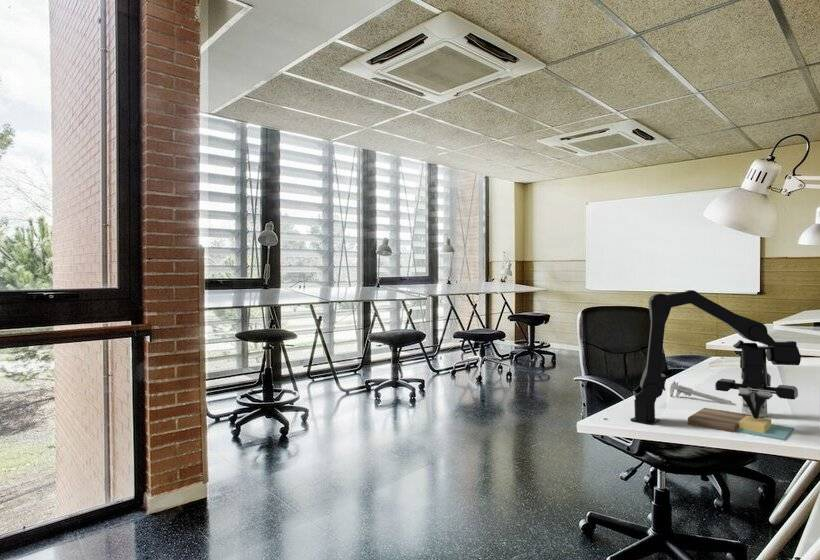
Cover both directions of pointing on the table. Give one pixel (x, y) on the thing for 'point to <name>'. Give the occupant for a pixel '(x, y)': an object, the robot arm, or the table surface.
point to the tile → (755, 424)
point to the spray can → (744, 405)
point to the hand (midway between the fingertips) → (756, 418)
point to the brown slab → (716, 419)
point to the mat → (772, 432)
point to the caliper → (695, 393)
